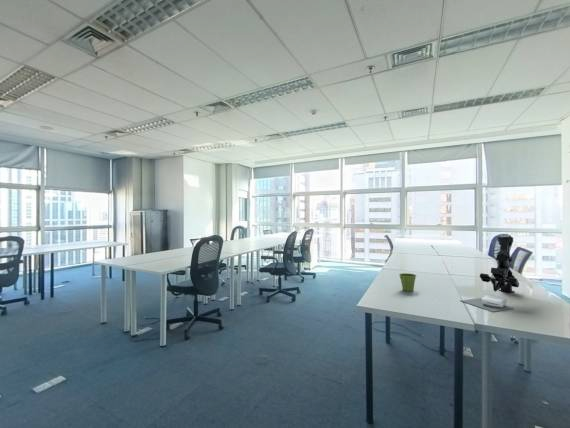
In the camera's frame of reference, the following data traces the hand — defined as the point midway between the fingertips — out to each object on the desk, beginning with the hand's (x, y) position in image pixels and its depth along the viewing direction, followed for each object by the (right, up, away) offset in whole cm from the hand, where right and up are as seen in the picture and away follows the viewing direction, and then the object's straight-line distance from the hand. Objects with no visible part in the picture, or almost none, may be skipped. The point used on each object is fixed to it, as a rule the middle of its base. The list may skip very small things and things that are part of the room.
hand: (494, 290), depth 160 cm
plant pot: (-38, -9, +32) cm, 51 cm away
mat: (-7, -8, -2) cm, 11 cm away
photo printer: (+2, -5, +1) cm, 5 cm away
